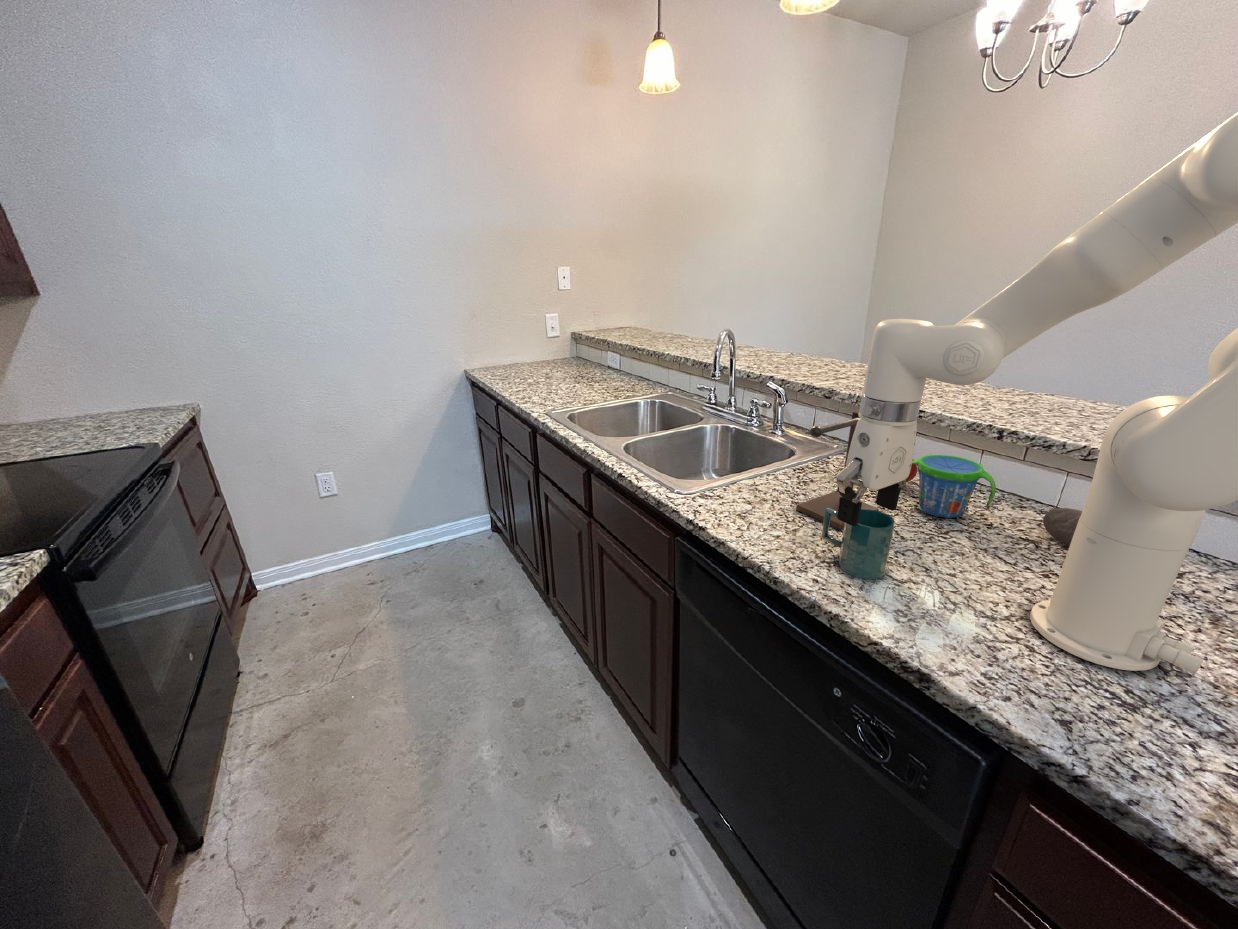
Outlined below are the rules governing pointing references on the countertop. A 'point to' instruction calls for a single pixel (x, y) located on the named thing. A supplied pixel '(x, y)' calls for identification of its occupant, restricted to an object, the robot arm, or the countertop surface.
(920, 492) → the snack cup
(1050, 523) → the perforated stone tool
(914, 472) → the onion
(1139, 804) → the countertop surface
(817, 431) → the mug rack
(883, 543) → the mug
